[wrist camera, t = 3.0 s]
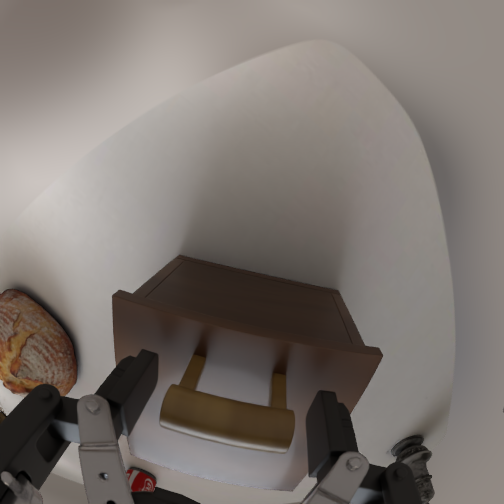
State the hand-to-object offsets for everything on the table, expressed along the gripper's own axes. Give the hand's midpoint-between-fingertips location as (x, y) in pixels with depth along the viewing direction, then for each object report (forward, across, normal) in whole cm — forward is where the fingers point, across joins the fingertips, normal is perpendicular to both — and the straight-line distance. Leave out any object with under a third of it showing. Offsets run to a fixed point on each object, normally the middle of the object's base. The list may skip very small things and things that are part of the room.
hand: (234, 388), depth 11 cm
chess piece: (+12, -27, +21) cm, 36 cm away
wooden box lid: (+2, 0, +6) cm, 6 cm away
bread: (+12, +28, +17) cm, 35 cm away
